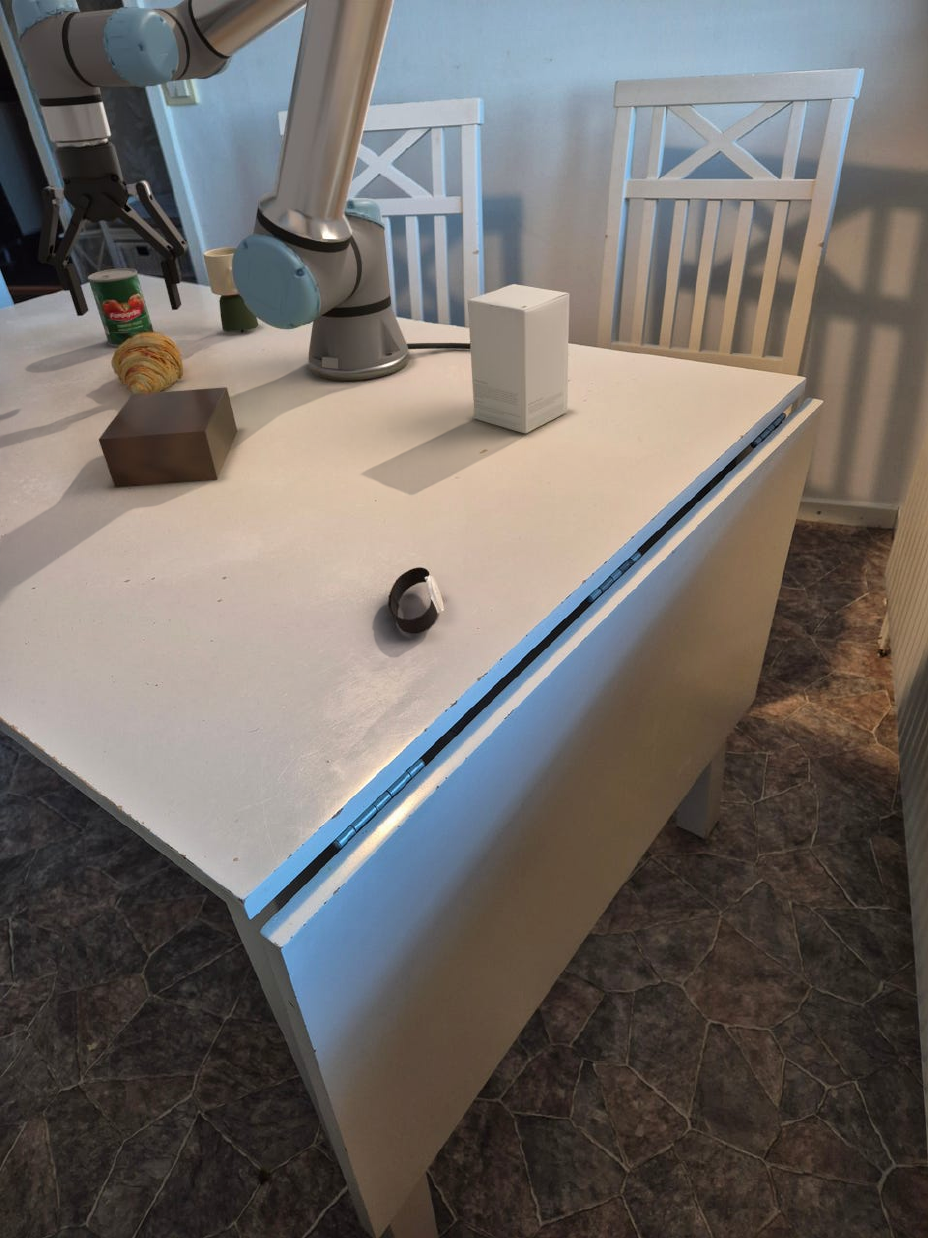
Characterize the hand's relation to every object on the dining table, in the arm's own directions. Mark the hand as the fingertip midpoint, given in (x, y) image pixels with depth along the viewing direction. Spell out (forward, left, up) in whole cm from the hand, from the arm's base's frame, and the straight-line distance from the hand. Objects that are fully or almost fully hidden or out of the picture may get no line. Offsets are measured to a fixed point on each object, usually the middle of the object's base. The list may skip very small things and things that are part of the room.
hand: (130, 310), depth 118 cm
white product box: (-54, +25, -11) cm, 61 cm away
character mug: (-10, -23, -11) cm, 27 cm away
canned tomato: (+9, -22, -11) cm, 26 cm away
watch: (-40, +67, -11) cm, 79 cm away
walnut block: (-11, +30, -10) cm, 34 cm away
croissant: (0, 0, -11) cm, 11 cm away
